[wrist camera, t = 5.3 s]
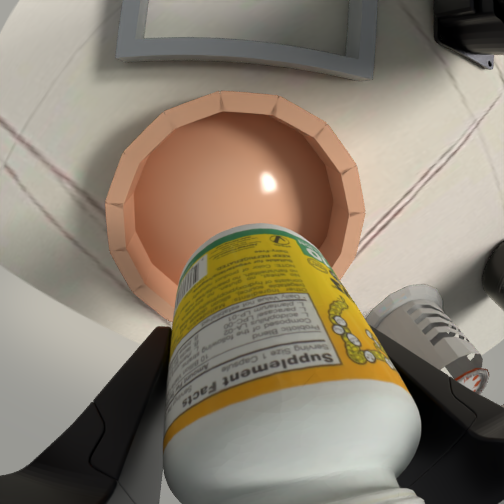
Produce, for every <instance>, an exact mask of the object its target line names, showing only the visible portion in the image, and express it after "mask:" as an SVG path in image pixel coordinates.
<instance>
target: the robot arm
mask: <svg viewBox="0 0 504 504" xmlns="http://www.w3.org/2000/svg"><path fill="white" fill-rule="evenodd" d="M440 36H441V38H442V40H441V38H440ZM434 38H435V41H436V42H437V43H438V44H440V45H442V46H444V47H446V48H448V49H450V50H452V51H454V52H456V53H458V54H460V55H462V56H464V57H466V58H468V59H470V60H471V61H473V62H475V63H477V64H479V65H480V66H482V67H484V68H485V69H488V70H491V69H493V64H494V55H504V0H434ZM368 325H369V324H368ZM369 326H370V328H371V329H372V331H373V332H374V334H375V336H376V337H377V339H378V341H379V342H380V344H381V346H382V347H383V349H384V350H385V352H386V354H387V355H388V357H389V359H390V360H391V362H392V364H393V366H394V367H395V369H396V370H397V372H398V373H399V375H400V377H401V378H402V380H403V382H404V384H405V386H406V387H407V389H408V391H409V393H410V394H411V396H412V398H413V400H414V402H415V404H416V406H417V408H418V411H419V415H420V419H421V437H420V441H419V445H418V448H417V450H416V453H415V455H414V457H413V458H412V460H411V462H410V463H409V465H408V466H407V468H406V469H405V470H404V471H403V472H402V473H401V474H400V475H399V476H398V477H397V478H396V480H397V483H398V485H399V487H400V488H407V489H411V490H413V491H414V492H415V494H416V496H417V497H419V498H422V499H423V500H424V502H425V504H504V407H502V406H500V405H498V404H496V403H494V402H492V401H490V400H489V399H487V398H485V397H483V396H481V395H479V394H478V393H476V392H474V391H472V390H470V389H469V388H467V387H466V386H464V385H462V384H461V383H459V382H458V381H456V380H455V379H453V378H451V377H449V376H448V375H447V374H445V373H444V372H442V371H441V370H439V369H438V368H436V367H434V366H433V365H431V364H430V363H428V362H427V361H425V360H424V359H422V358H421V357H419V356H417V355H416V354H414V353H413V352H411V351H410V350H408V349H407V348H405V347H404V346H402V345H400V344H399V343H397V342H396V341H394V340H393V339H391V338H390V337H388V336H386V335H385V334H383V333H382V332H380V331H379V330H377V329H376V328H374V327H373V326H371V325H369ZM171 336H172V329H171V328H170V327H162V326H158V327H156V328H155V329H154V330H153V332H152V333H151V334H150V335H149V336H148V337H147V338H146V340H145V341H144V342H143V343H142V344H141V345H140V346H139V348H138V349H137V350H136V351H135V352H134V353H133V355H132V356H131V357H130V358H129V359H128V360H127V361H126V363H125V364H124V365H123V366H122V367H121V368H120V370H119V371H118V372H117V373H116V374H115V375H114V377H113V378H112V379H111V380H110V381H109V382H108V384H107V385H106V386H105V387H104V388H103V389H102V391H101V392H100V393H99V394H98V395H97V396H96V398H95V399H94V400H93V402H91V403H90V405H89V406H88V407H87V408H86V409H85V410H84V412H83V413H82V414H81V415H80V416H79V417H78V418H77V419H76V421H75V422H74V423H73V424H72V425H71V426H70V427H69V428H68V429H67V430H66V431H65V432H64V433H63V434H62V435H61V436H60V437H58V438H57V439H56V440H55V441H54V442H53V443H52V444H51V445H50V446H49V447H47V448H46V449H45V450H44V451H43V452H42V453H41V454H40V455H39V456H38V457H37V458H36V459H34V460H33V461H32V462H31V463H30V464H29V465H27V466H26V467H24V468H23V469H21V470H19V471H17V472H14V473H11V474H7V475H1V476H0V504H159V499H160V490H161V481H162V472H163V435H164V418H165V401H166V389H167V377H168V367H169V357H170V346H171Z"/></svg>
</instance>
